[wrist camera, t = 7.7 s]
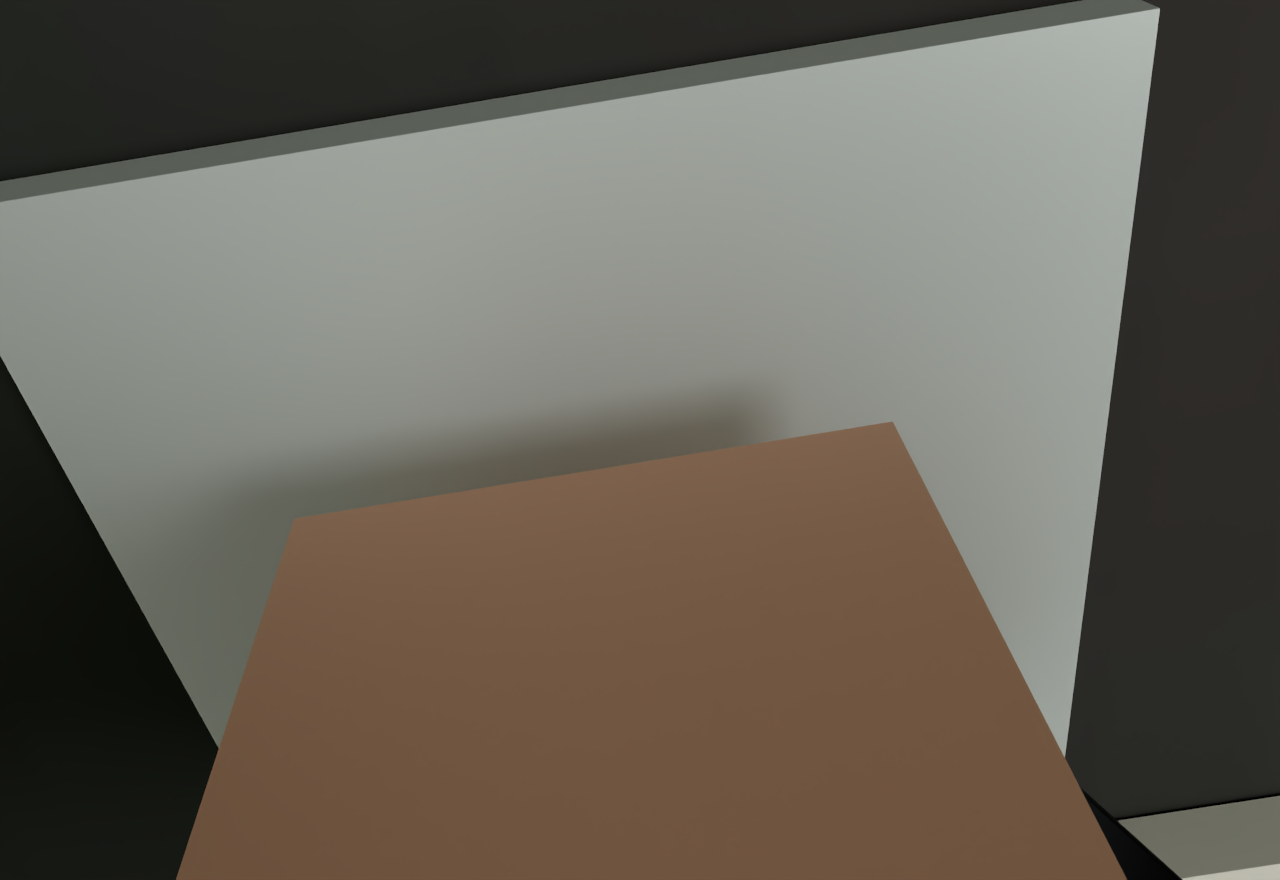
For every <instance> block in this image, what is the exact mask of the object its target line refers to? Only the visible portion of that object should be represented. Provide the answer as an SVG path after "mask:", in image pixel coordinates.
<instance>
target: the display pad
mask: <svg viewBox="0 0 1280 880" xmlns="http://www.w3.org/2000/svg"><path fill="white" fill-rule="evenodd" d="M1159 12H1160V8H1158V7H1156V6H1154V5H1151V4H1149V3H1147V2H1144V1H1142V0H1082V1H1076V2H1070V3H1064V4H1058V5H1052V6H1046V7H1040V8H1034V9H1028V10H1022V11H1016V12H1010V13H1004V14H998V15H992V16H986V17H980V18H974V19H968V20H962V21H956V22H950V23H944V24H938V25H932V26H926V27H920V28H914V29H908V30H902V31H896V32H891V33H885V34H879V35H873V36H867V37H861V38H855V39H849V40H843V41H837V42H831V43H825V44H819V45H813V46H807V47H801V48H795V49H789V50H783V51H777V52H771V53H765V54H759V55H753V56H747V57H741V58H735V59H729V60H723V61H717V62H711V63H705V64H699V65H693V66H687V67H681V68H675V69H669V70H664V71H658V72H652V73H646V74H640V75H634V76H628V77H622V78H616V79H610V80H604V81H598V82H592V83H586V84H580V85H574V86H568V87H562V88H556V89H550V90H544V91H538V92H532V93H526V94H520V95H514V96H508V97H502V98H496V99H490V100H484V101H478V102H472V103H466V104H460V105H454V106H448V107H442V108H436V109H431V110H425V111H419V112H413V113H407V114H401V115H395V116H389V117H383V118H377V119H371V120H365V121H359V122H353V123H347V124H341V125H335V126H329V127H323V128H317V129H311V130H305V131H299V132H293V133H287V134H281V135H275V136H269V137H263V138H257V139H251V140H245V141H239V142H233V143H227V144H221V145H215V146H209V147H204V148H198V149H192V150H186V151H180V152H174V153H168V154H162V155H156V156H150V157H144V158H138V159H132V160H126V161H120V162H114V163H108V164H102V165H96V166H90V167H84V168H78V169H72V170H66V171H60V172H54V173H48V174H42V175H36V176H30V177H24V178H18V179H12V180H6V181H0V356H1V358H2V360H3V362H4V364H5V365H6V367H7V369H8V371H9V373H10V374H11V376H12V378H13V380H14V381H15V383H16V385H17V387H18V389H19V390H20V392H21V394H22V396H23V398H24V399H25V401H26V403H27V405H28V407H29V408H30V410H31V412H32V414H33V416H34V417H35V419H36V421H37V423H38V425H39V426H40V428H41V430H42V432H43V434H44V435H45V437H46V439H47V441H48V443H49V444H50V446H51V448H52V450H53V452H54V453H55V455H56V457H57V459H58V461H59V462H60V464H61V466H62V468H63V470H64V471H65V473H66V475H67V477H68V478H69V480H70V482H71V484H72V486H73V487H74V489H75V491H76V493H77V495H78V496H79V498H80V500H81V502H82V504H83V505H84V507H85V509H86V511H87V513H88V514H89V516H90V518H91V520H92V522H93V523H94V525H95V527H96V529H97V531H98V532H99V534H100V536H101V538H102V540H103V541H104V543H105V545H106V547H107V549H108V550H109V552H110V554H111V556H112V558H113V559H114V561H115V563H116V565H117V567H118V568H119V570H120V572H121V574H122V576H123V577H124V579H125V581H126V583H127V584H128V586H129V588H130V590H131V592H132V593H133V595H134V597H135V599H136V601H137V602H138V604H139V606H140V608H141V610H142V611H143V613H144V615H145V617H146V619H147V620H148V622H149V624H150V626H151V628H152V629H153V631H154V633H155V635H156V637H157V638H158V640H159V642H160V644H161V646H162V647H163V649H164V651H165V653H166V655H167V656H168V658H169V660H170V662H171V664H172V665H173V667H174V669H175V671H176V673H177V674H178V676H179V678H180V680H181V681H182V683H183V685H184V687H185V689H186V690H187V692H188V694H189V696H190V698H191V699H192V701H193V703H194V705H195V707H196V708H197V710H198V712H199V714H200V716H201V717H202V719H203V721H204V723H205V725H206V726H207V728H208V730H209V732H210V734H211V735H212V737H213V739H214V741H215V743H216V744H217V746H218V748H219V747H220V744H221V741H222V737H223V734H224V731H225V728H226V725H227V722H228V719H229V716H230V713H231V710H232V707H233V704H234V701H235V698H236V695H237V692H238V689H239V686H240V682H241V679H242V676H243V673H244V670H245V667H246V664H247V661H248V658H249V655H250V652H251V649H252V646H253V643H254V640H255V637H256V634H257V631H258V627H259V624H260V621H261V618H262V615H263V612H264V609H265V606H266V603H267V600H268V597H269V594H270V591H271V588H272V585H273V582H274V579H275V576H276V573H277V569H278V566H279V563H280V560H281V557H282V554H283V551H284V548H285V545H286V542H287V539H288V536H289V533H290V530H291V527H292V524H293V521H294V519H295V518H302V517H308V516H314V515H320V514H326V513H332V512H338V511H345V510H351V509H357V508H363V507H369V506H375V505H382V504H388V503H394V502H400V501H406V500H412V499H418V498H425V497H431V496H437V495H443V494H449V493H455V492H462V491H468V490H474V489H480V488H486V487H492V486H498V485H505V484H511V483H517V482H523V481H529V480H535V479H542V478H548V477H554V476H560V475H566V474H572V473H578V472H585V471H591V470H597V469H603V468H609V467H615V466H622V465H628V464H634V463H640V462H646V461H652V460H658V459H665V458H671V457H677V456H683V455H689V454H695V453H702V452H708V451H714V450H720V449H726V448H732V447H738V446H745V445H751V444H757V443H763V442H769V441H775V440H782V439H788V438H794V437H800V436H806V435H812V434H818V433H825V432H831V431H837V430H843V429H849V428H855V427H862V426H868V425H874V424H880V423H886V422H892V421H893V423H894V425H895V427H896V429H897V431H898V433H899V435H900V437H901V439H902V441H903V443H904V445H905V447H906V449H907V451H908V453H909V455H910V456H911V458H912V460H913V462H914V464H915V466H916V468H917V470H918V472H919V474H920V476H921V478H922V480H923V482H924V484H925V486H926V488H927V490H928V492H929V494H930V496H931V498H932V499H933V501H934V503H935V505H936V507H937V509H938V511H939V513H940V515H941V517H942V519H943V521H944V523H945V525H946V527H947V529H948V531H949V533H950V535H951V537H952V539H953V540H954V542H955V544H956V546H957V548H958V550H959V552H960V554H961V556H962V558H963V560H964V562H965V564H966V566H967V568H968V570H969V572H970V574H971V576H972V578H973V580H974V582H975V583H976V585H977V587H978V589H979V591H980V593H981V595H982V597H983V599H984V601H985V603H986V605H987V607H988V609H989V611H990V613H991V615H992V617H993V619H994V621H995V623H996V625H997V626H998V628H999V630H1000V632H1001V634H1002V636H1003V638H1004V640H1005V642H1006V644H1007V646H1008V648H1009V650H1010V652H1011V654H1012V656H1013V658H1014V660H1015V662H1016V664H1017V666H1018V668H1019V669H1020V671H1021V673H1022V675H1023V677H1024V679H1025V681H1026V683H1027V685H1028V687H1029V689H1030V691H1031V693H1032V695H1033V697H1034V699H1035V701H1036V703H1037V705H1038V707H1039V709H1040V711H1041V712H1042V714H1043V716H1044V718H1045V720H1046V722H1047V724H1048V726H1049V728H1050V730H1051V732H1052V734H1053V736H1054V738H1055V740H1056V742H1057V744H1058V746H1059V748H1060V750H1061V752H1062V753H1063V755H1064V757H1065V752H1066V744H1067V736H1068V728H1069V720H1070V712H1071V704H1072V697H1073V689H1074V681H1075V673H1076V665H1077V657H1078V649H1079V642H1080V634H1081V626H1082V618H1083V610H1084V602H1085V594H1086V587H1087V579H1088V571H1089V563H1090V555H1091V547H1092V539H1093V531H1094V524H1095V516H1096V508H1097V500H1098V492H1099V484H1100V476H1101V469H1102V461H1103V453H1104V445H1105V437H1106V429H1107V421H1108V414H1109V406H1110V398H1111V390H1112V382H1113V374H1114V366H1115V358H1116V351H1117V343H1118V335H1119V327H1120V319H1121V311H1122V303H1123V296H1124V288H1125V280H1126V272H1127V264H1128V256H1129V248H1130V240H1131V233H1132V225H1133V217H1134V209H1135V201H1136V193H1137V185H1138V178H1139V170H1140V162H1141V154H1142V146H1143V138H1144V130H1145V123H1146V115H1147V107H1148V99H1149V91H1150V83H1151V75H1152V67H1153V60H1154V52H1155V44H1156V36H1157V28H1158V20H1159Z"/></svg>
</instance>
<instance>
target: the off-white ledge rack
mask: <svg viewBox="0 0 1280 880" xmlns="http://www.w3.org/2000/svg"><path fill="white" fill-rule="evenodd" d="M1118 822H1119V823H1120V824H1121V825H1122V826H1124V827H1125V828H1126V829H1127V830H1128V831H1129V832H1130V833H1131V834H1132V835H1134V836H1135V837H1136V838H1137V839H1138V840H1139V841H1140V842H1141V843H1142V844H1144V845H1145V846H1146V847H1147V848H1148V849H1149V850H1150V851H1151V852H1152V853H1154V854H1155V855H1156V856H1157V857H1158V858H1159V859H1160V860H1161V861H1162V862H1164V863H1165V864H1166V865H1167V866H1168V867H1169V868H1170V869H1171V870H1172V871H1174V872H1175V873H1176V874H1177V875H1178V876H1179V877H1180V878H1181V879H1182V880H1280V796H1275V797H1269V798H1262V799H1256V800H1249V801H1242V802H1236V803H1229V804H1223V805H1216V806H1210V807H1203V808H1197V809H1190V810H1184V811H1177V812H1171V813H1164V814H1158V815H1151V816H1145V817H1138V818H1131V819H1125V820H1118Z"/></svg>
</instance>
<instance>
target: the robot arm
mask: <svg viewBox="0 0 1280 880" xmlns="http://www.w3.org/2000/svg"><path fill="white" fill-rule="evenodd" d="M1080 789H1081V788H1080ZM1081 791H1082V793H1083V795H1084V796H1085V798H1086V800H1087V802H1088V804H1089V806H1090V808H1091V810H1092V812H1093V814H1094V816H1095V818H1096V820H1097V822H1098V824H1099V826H1100V828H1101V830H1102V832H1103V834H1104V836H1105V838H1106V839H1107V841H1108V843H1109V845H1110V847H1111V849H1112V851H1113V853H1114V855H1115V857H1116V859H1117V861H1118V863H1119V865H1120V867H1121V869H1122V871H1123V873H1124V875H1125V877H1126V879H1127V880H1182V879H1181V878H1180V877H1179V876H1178V875H1177V874H1176V873H1175V872H1174V871H1172V870H1171V869H1170V868H1169V867H1168V866H1167V865H1166V864H1165V863H1164V862H1162V861H1161V860H1160V859H1159V858H1158V857H1157V856H1156V855H1155V854H1154V853H1152V852H1151V851H1150V850H1149V849H1148V848H1147V847H1146V846H1145V845H1144V844H1142V843H1141V842H1140V841H1139V840H1138V839H1137V838H1136V837H1135V836H1134V835H1132V834H1131V833H1130V832H1129V831H1128V830H1127V829H1126V828H1125V827H1124V826H1122V825H1121V824H1120V823H1119V822H1118V821H1117V820H1116V819H1115V818H1114V817H1112V816H1111V815H1110V814H1109V813H1108V812H1107V811H1106V810H1105V809H1104V808H1102V807H1101V806H1100V805H1099V804H1098V803H1097V802H1096V801H1095V800H1094V799H1092V798H1091V797H1090V796H1089V795H1088V794H1087V793H1086V792H1085V791H1084V790H1082V789H1081Z"/></svg>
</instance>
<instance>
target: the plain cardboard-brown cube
mask: <svg viewBox="0 0 1280 880" xmlns="http://www.w3.org/2000/svg"><path fill="white" fill-rule="evenodd" d="M176 880H1127V879H1126V877H1125V875H1124V873H1123V871H1122V869H1121V867H1120V865H1119V863H1118V861H1117V859H1116V857H1115V855H1114V853H1113V851H1112V849H1111V847H1110V845H1109V843H1108V841H1107V839H1106V838H1105V836H1104V834H1103V832H1102V830H1101V828H1100V826H1099V824H1098V822H1097V820H1096V818H1095V816H1094V814H1093V812H1092V810H1091V808H1090V806H1089V804H1088V802H1087V800H1086V798H1085V796H1084V795H1083V793H1082V791H1081V789H1080V787H1079V785H1078V783H1077V781H1076V779H1075V777H1074V775H1073V773H1072V771H1071V769H1070V767H1069V765H1068V763H1067V761H1066V759H1065V757H1064V755H1063V753H1062V752H1061V750H1060V748H1059V746H1058V744H1057V742H1056V740H1055V738H1054V736H1053V734H1052V732H1051V730H1050V728H1049V726H1048V724H1047V722H1046V720H1045V718H1044V716H1043V714H1042V712H1041V711H1040V709H1039V707H1038V705H1037V703H1036V701H1035V699H1034V697H1033V695H1032V693H1031V691H1030V689H1029V687H1028V685H1027V683H1026V681H1025V679H1024V677H1023V675H1022V673H1021V671H1020V669H1019V668H1018V666H1017V664H1016V662H1015V660H1014V658H1013V656H1012V654H1011V652H1010V650H1009V648H1008V646H1007V644H1006V642H1005V640H1004V638H1003V636H1002V634H1001V632H1000V630H999V628H998V626H997V625H996V623H995V621H994V619H993V617H992V615H991V613H990V611H989V609H988V607H987V605H986V603H985V601H984V599H983V597H982V595H981V593H980V591H979V589H978V587H977V585H976V583H975V582H974V580H973V578H972V576H971V574H970V572H969V570H968V568H967V566H966V564H965V562H964V560H963V558H962V556H961V554H960V552H959V550H958V548H957V546H956V544H955V542H954V540H953V539H952V537H951V535H950V533H949V531H948V529H947V527H946V525H945V523H944V521H943V519H942V517H941V515H940V513H939V511H938V509H937V507H936V505H935V503H934V501H933V499H932V498H931V496H930V494H929V492H928V490H927V488H926V486H925V484H924V482H923V480H922V478H921V476H920V474H919V472H918V470H917V468H916V466H915V464H914V462H913V460H912V458H911V456H910V455H909V453H908V451H907V449H906V447H905V445H904V443H903V441H902V439H901V437H900V435H899V433H898V431H897V429H896V427H895V425H894V423H893V421H892V422H886V423H880V424H874V425H868V426H862V427H855V428H849V429H843V430H837V431H831V432H825V433H818V434H812V435H806V436H800V437H794V438H788V439H782V440H775V441H769V442H763V443H757V444H751V445H745V446H738V447H732V448H726V449H720V450H714V451H708V452H702V453H695V454H689V455H683V456H677V457H671V458H665V459H658V460H652V461H646V462H640V463H634V464H628V465H622V466H615V467H609V468H603V469H597V470H591V471H585V472H578V473H572V474H566V475H560V476H554V477H548V478H542V479H535V480H529V481H523V482H517V483H511V484H505V485H498V486H492V487H486V488H480V489H474V490H468V491H462V492H455V493H449V494H443V495H437V496H431V497H425V498H418V499H412V500H406V501H400V502H394V503H388V504H382V505H375V506H369V507H363V508H357V509H351V510H345V511H338V512H332V513H326V514H320V515H314V516H308V517H302V518H295V519H294V521H293V524H292V527H291V530H290V533H289V536H288V539H287V542H286V545H285V548H284V551H283V554H282V557H281V560H280V563H279V566H278V569H277V573H276V576H275V579H274V582H273V585H272V588H271V591H270V594H269V597H268V600H267V603H266V606H265V609H264V612H263V615H262V618H261V621H260V624H259V627H258V631H257V634H256V637H255V640H254V643H253V646H252V649H251V652H250V655H249V658H248V661H247V664H246V667H245V670H244V673H243V676H242V679H241V682H240V686H239V689H238V692H237V695H236V698H235V701H234V704H233V707H232V710H231V713H230V716H229V719H228V722H227V725H226V728H225V731H224V734H223V737H222V741H221V744H220V747H219V750H218V753H217V756H216V759H215V762H214V765H213V768H212V771H211V774H210V777H209V780H208V783H207V786H206V789H205V792H204V795H203V799H202V802H201V805H200V808H199V811H198V814H197V817H196V820H195V823H194V826H193V829H192V832H191V835H190V838H189V841H188V844H187V847H186V850H185V854H184V857H183V860H182V863H181V866H180V869H179V872H178V875H177V878H176Z"/></svg>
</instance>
